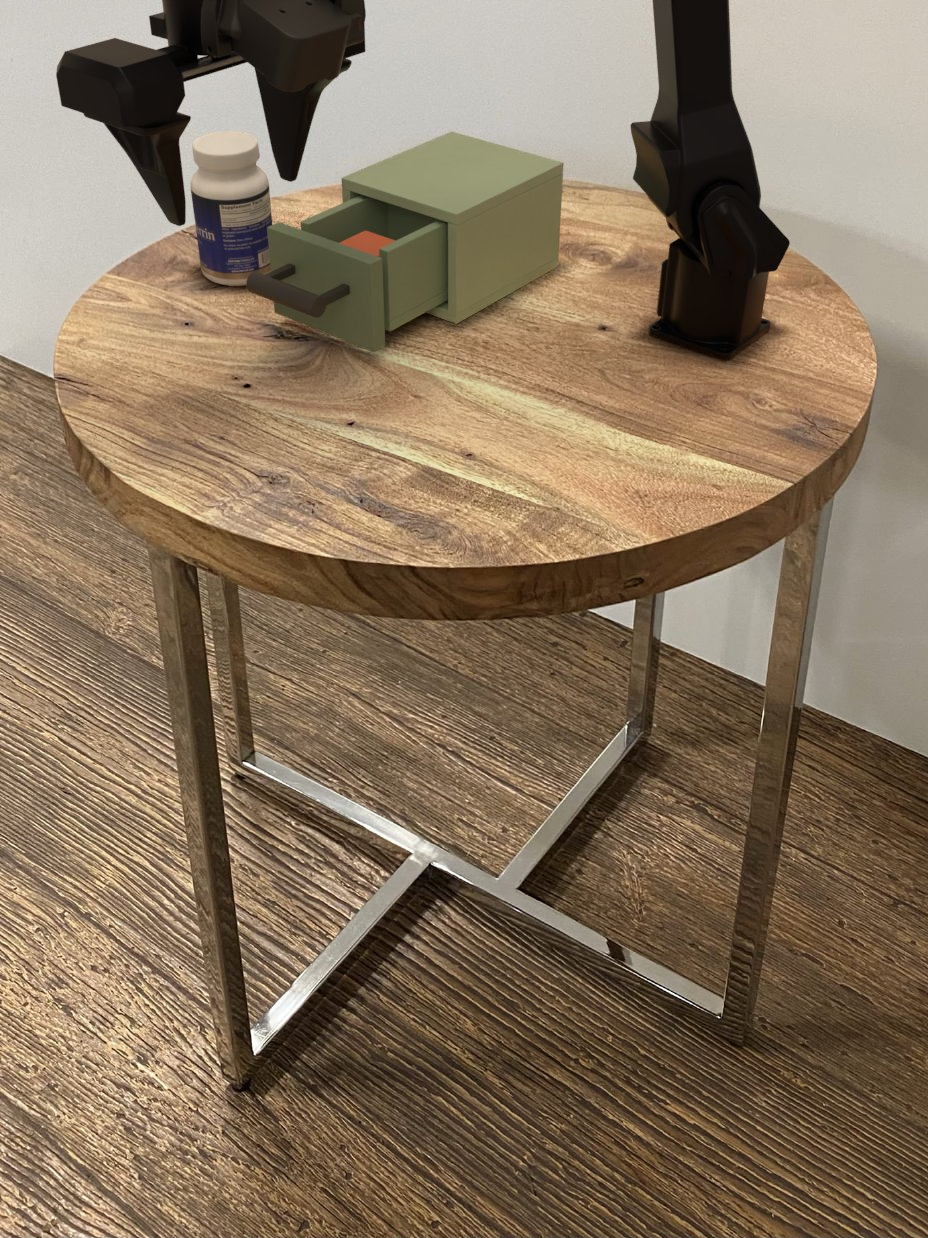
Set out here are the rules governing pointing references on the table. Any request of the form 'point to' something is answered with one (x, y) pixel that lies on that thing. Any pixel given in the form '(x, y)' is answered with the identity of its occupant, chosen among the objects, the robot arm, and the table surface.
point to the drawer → (356, 270)
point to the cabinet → (475, 212)
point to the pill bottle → (230, 207)
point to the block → (367, 242)
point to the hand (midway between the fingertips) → (234, 201)
